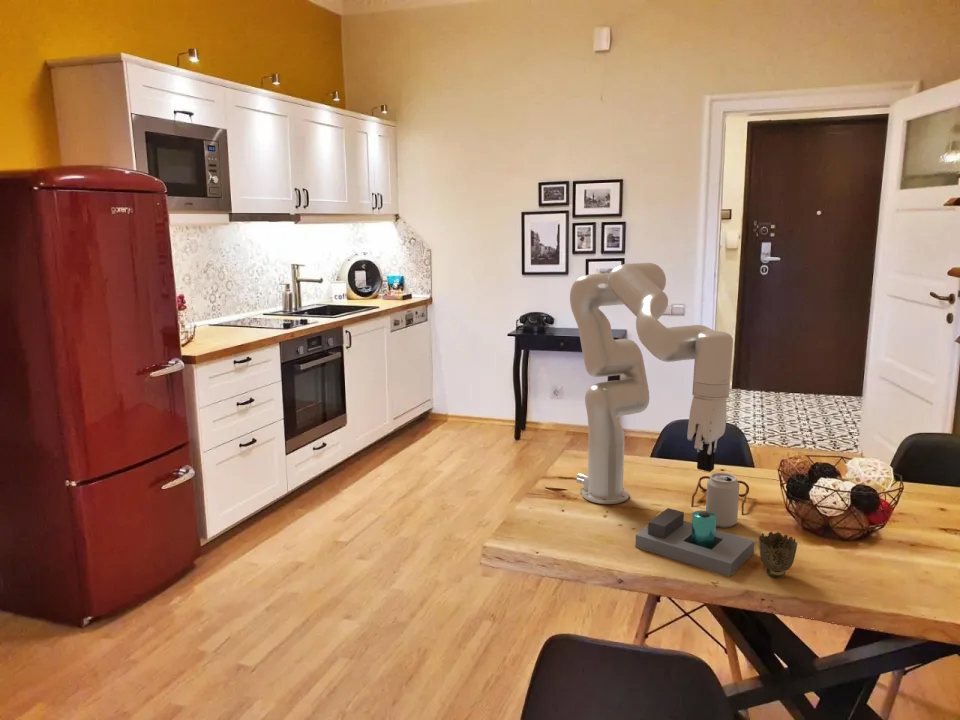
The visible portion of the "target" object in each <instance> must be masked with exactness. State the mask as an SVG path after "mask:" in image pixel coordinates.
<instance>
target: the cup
mask: <svg viewBox="0 0 960 720" xmlns="http://www.w3.org/2000/svg"><path fill="white" fill-rule="evenodd" d="M758 540H759V541H758V544H759V545H758V546H759V556H760V561H761V562H762V563H761V564H763V566H764V567H765V568H766V569H765V570H766V573H767V575H768V576H770V577H773V578H783V577H784V576H785V574H786V571H788V570H789V569H790V568H791V567H792V566H793V564H794V561H795V558H796V553H797V548H798V541H796V538H793V536H790V537H789V536H788V534H784V535H782V533H781V532H779V531H777V532H775V533H773V531H769V532H768V535H765V534H764V533H761V535H759V536H758Z"/></svg>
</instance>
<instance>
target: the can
mask: <svg viewBox="0 0 960 720" xmlns="http://www.w3.org/2000/svg"><path fill="white" fill-rule="evenodd" d="M709 477H710V479H708V480H706V481H707V482H706V483H707V484H706V489H707V491H706V500H705V501H706V502H705V511H709V512H712V513H714V514H715V515H716V528H724V529H725V528H731V527H733V526H734V525H735V524H736V525H737V523H738V517H739V516H738V514H739V498H740V496H739V494H740V483H738V482H737V481H738V478H737V476H736V475H734V474H732V473H731V474H730V473H726V472H714V473H712V474H710V475H709Z"/></svg>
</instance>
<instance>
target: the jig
mask: <svg viewBox="0 0 960 720" xmlns="http://www.w3.org/2000/svg"><path fill="white" fill-rule="evenodd" d="M684 517H685V513H684V511H680V510H677V509H673V508H669V507H668V508H666V509H664V510H663V511H662V512H660V513H659V514H657V515H656V516H655V517H653V518H652V519H651V520H649V521H648V523H647V524H648V525H647V526H646V527H645V528H643V529H641V530H640V531H639V532H637V533H636V534H635V546H634V547H635V548H638V549H641V550H644V551H647V552H650V553H654V554H655V555H656V554H657V555H660V556H663V557H666V558H669V559H673V560H674V561H675V560H676V561H679V562H681V563H685V564H687V565H691V566H695V567H698V568H701V569H704V570H707V571H710V572H713V573H716V574H719V575H723V576H725V577H728V578H730V577H732V576H733V575H734V573H736V572H737V570H739V569H740V568H741V566H743V565H744V563H746V561H747V560H748V559H749V558H750V557H751V556H753V555H754V554H755V545H756V544H755V543H756V541H755V540H756V539H755V540H754V539H751V538H748V537H744V536H742V535H741V536H740V535H736V534H733V533H729V532H727V531H722V530H719V529H716V530H715V547H714V548H713V549H712V550H711V549H708V548H705V547H701V546H698V545H695V544H691V539H692V522H690V521H687V520H684Z"/></svg>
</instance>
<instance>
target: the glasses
mask: <svg viewBox="0 0 960 720" xmlns="http://www.w3.org/2000/svg"><path fill="white" fill-rule="evenodd" d="M704 479H706V480H707V479H708V480H709V479H710V475H702V476H701V477H699V478H698V481H697V485H696V487H695V490H694V492H693V494H692V497H691V502H690V503H691V508H693V507H694V502H695V497H696V495H697V494H698V493H697V492H698V491H699V488H700V490H702V491H703V492H707V488H705V487H703V486H702V484H701V482H702V480H704ZM737 482H738V483H739V484H742V485H744V486H745V493H739V497H742V496H743V500H742V502H741V515H742V516H744V505H745V503H746V500H747V496H748V494H749V493H750V487H749V485H748V483H747V482H745V481H742V480H737Z"/></svg>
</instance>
